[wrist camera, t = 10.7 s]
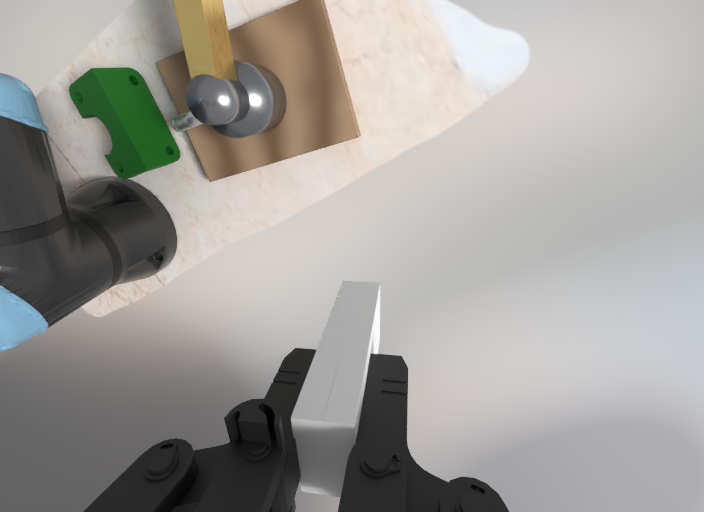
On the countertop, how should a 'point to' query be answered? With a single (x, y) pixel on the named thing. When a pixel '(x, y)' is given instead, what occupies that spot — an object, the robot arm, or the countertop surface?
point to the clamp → (126, 119)
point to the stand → (299, 84)
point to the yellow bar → (210, 63)
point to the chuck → (263, 104)
